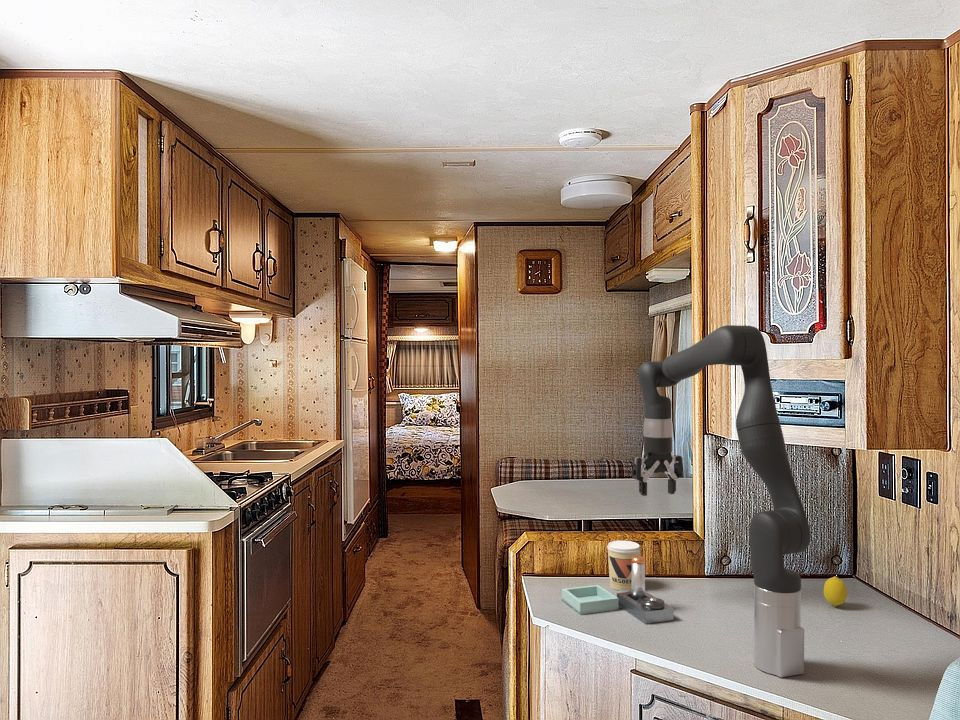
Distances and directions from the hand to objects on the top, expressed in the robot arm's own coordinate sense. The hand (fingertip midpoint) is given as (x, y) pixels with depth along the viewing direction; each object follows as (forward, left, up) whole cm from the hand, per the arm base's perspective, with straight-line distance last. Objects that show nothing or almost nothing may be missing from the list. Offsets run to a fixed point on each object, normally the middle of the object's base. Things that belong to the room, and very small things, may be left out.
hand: (657, 494), depth 190 cm
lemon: (-20, -41, -28) cm, 54 cm away
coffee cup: (+11, +4, -28) cm, 31 cm away
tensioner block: (-8, +9, -28) cm, 31 cm away
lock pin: (-5, +9, -28) cm, 30 cm away
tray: (+1, +20, -28) cm, 35 cm away
